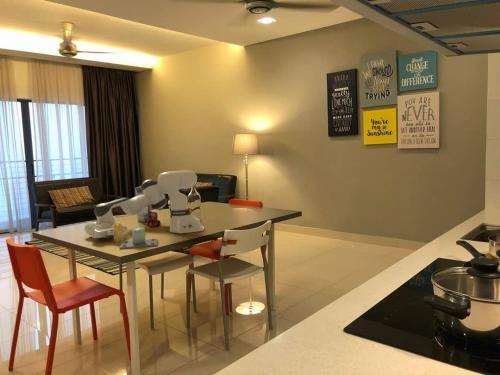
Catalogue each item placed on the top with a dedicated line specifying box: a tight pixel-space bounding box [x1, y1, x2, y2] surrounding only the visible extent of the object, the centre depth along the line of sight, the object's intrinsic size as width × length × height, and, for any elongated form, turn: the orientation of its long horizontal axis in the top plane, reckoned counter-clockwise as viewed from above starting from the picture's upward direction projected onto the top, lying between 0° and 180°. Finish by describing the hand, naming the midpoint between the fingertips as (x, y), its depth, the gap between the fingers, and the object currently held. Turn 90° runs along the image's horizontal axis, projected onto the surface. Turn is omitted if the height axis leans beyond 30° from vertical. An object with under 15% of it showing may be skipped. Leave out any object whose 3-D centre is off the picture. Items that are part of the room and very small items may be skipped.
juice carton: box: [134, 185, 153, 223], centre depth 303 cm, size 9×10×27 cm
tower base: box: [119, 227, 159, 250], centre depth 231 cm, size 20×14×9 cm
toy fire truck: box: [145, 211, 162, 228], centre depth 283 cm, size 7×12×10 cm, turn 40°
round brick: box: [112, 222, 125, 244], centre depth 241 cm, size 6×6×11 cm
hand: (119, 232), depth 241 cm, fingers closed on round brick, 5 cm apart
